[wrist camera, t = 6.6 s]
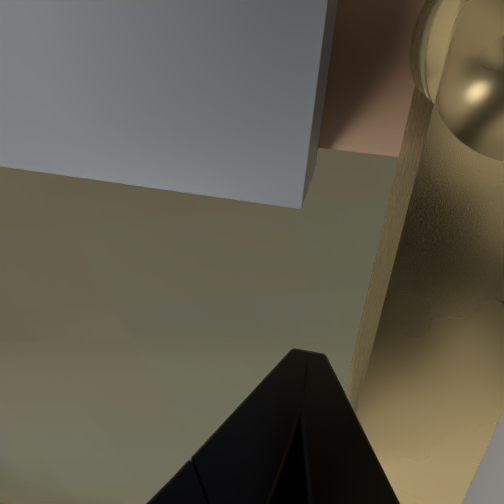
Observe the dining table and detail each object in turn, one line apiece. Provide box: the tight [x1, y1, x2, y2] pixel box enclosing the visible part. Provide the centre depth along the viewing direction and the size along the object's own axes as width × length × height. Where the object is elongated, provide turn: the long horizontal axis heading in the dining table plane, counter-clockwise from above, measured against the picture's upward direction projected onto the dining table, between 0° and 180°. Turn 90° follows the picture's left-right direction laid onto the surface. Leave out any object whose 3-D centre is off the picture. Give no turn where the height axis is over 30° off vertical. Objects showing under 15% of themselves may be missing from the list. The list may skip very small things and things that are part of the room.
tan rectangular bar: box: [345, 0, 504, 504], centre depth 7 cm, size 2×9×2 cm, turn 176°
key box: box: [318, 0, 427, 157], centre depth 10 cm, size 5×14×6 cm, turn 86°
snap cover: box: [0, 0, 338, 209], centre depth 9 cm, size 6×9×3 cm, turn 87°
